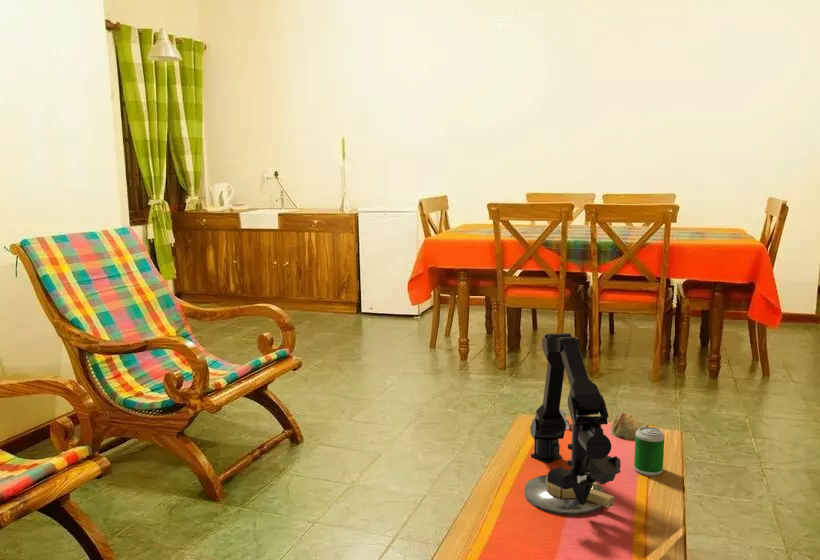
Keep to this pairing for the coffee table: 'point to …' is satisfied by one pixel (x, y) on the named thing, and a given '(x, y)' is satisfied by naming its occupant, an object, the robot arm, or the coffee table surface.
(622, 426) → the brown rock
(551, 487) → the brass ring wrench
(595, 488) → the flange
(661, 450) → the soda can
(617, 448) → the coffee table surface
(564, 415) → the grey rock pile
